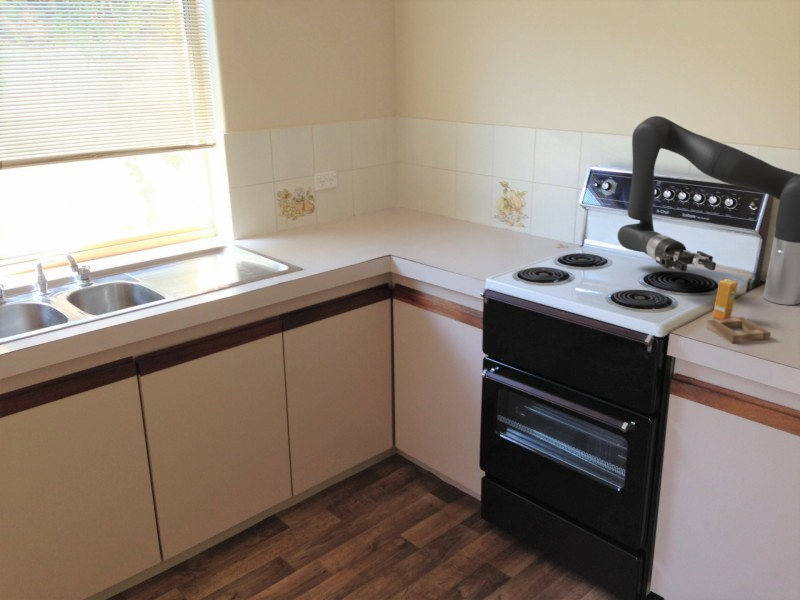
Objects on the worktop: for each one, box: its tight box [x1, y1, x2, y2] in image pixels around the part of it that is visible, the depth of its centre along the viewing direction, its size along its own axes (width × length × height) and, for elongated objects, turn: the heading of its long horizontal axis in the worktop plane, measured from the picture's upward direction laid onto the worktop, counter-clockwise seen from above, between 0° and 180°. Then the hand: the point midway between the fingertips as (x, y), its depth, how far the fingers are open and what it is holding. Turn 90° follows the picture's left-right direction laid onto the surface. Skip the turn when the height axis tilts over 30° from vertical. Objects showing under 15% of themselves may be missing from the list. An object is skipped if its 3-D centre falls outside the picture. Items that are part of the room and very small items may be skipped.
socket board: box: [705, 316, 772, 345], centre depth 176 cm, size 10×10×2 cm
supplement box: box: [712, 278, 739, 320], centre depth 184 cm, size 3×3×10 cm
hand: (700, 267), depth 193 cm, fingers open, 8 cm apart
